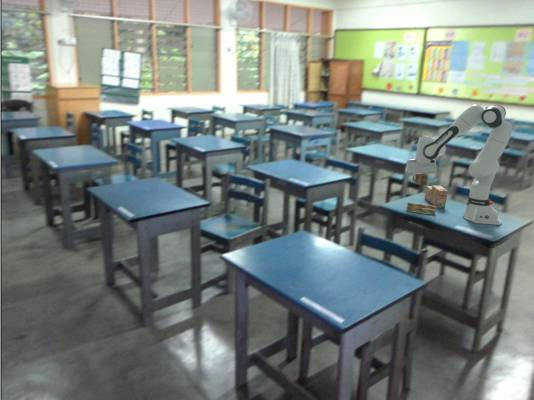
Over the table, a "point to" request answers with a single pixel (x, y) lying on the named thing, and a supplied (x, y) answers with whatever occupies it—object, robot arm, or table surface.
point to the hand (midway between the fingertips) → (419, 179)
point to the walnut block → (420, 179)
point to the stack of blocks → (436, 195)
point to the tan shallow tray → (421, 208)
